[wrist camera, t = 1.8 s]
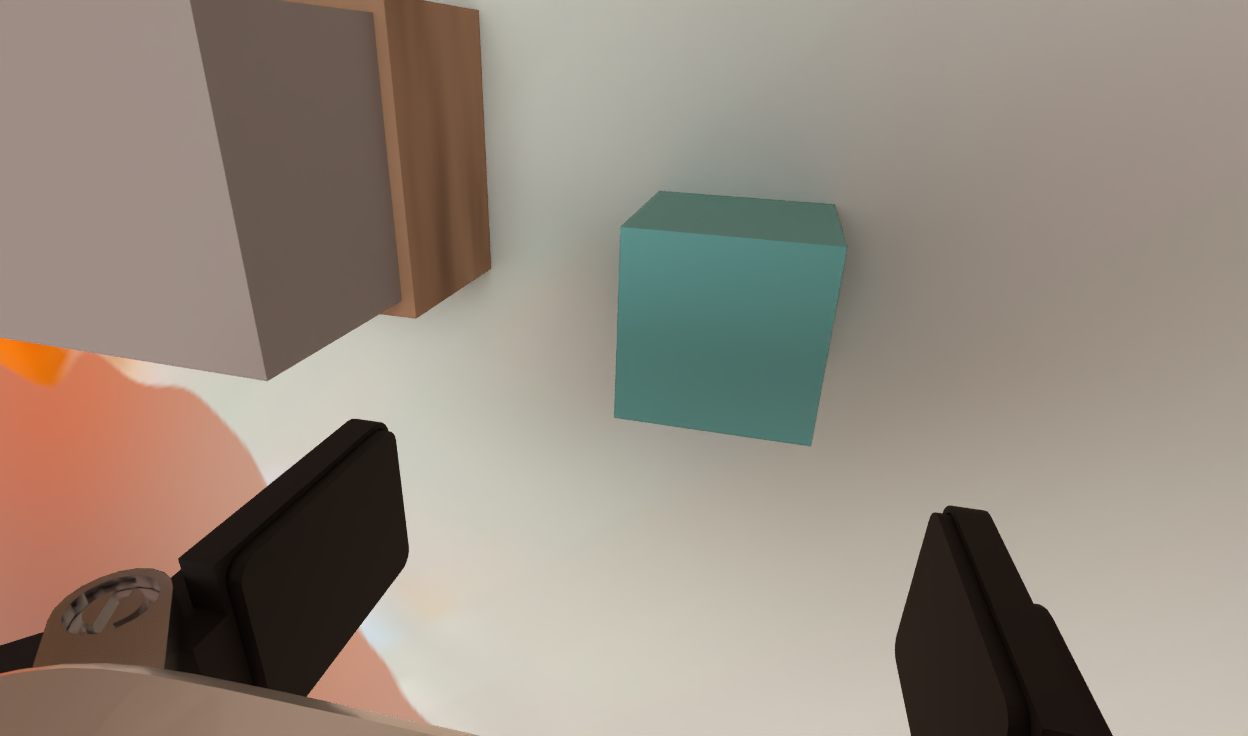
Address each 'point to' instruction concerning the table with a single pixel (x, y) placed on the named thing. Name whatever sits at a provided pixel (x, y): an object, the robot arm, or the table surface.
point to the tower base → (432, 144)
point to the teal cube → (727, 313)
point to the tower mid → (192, 180)
